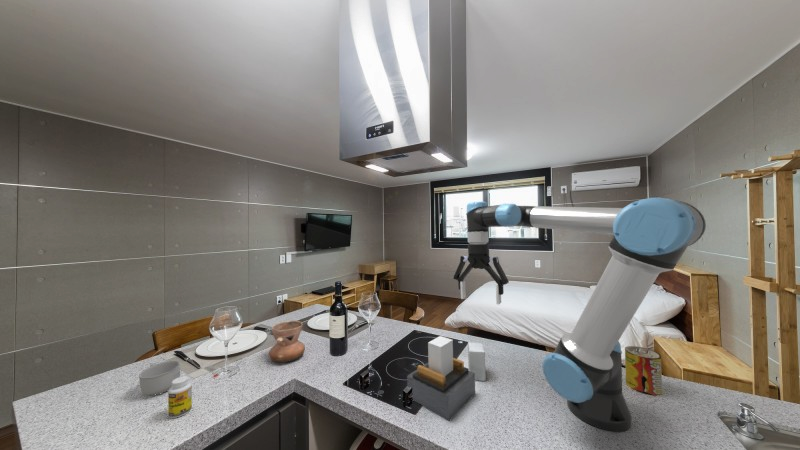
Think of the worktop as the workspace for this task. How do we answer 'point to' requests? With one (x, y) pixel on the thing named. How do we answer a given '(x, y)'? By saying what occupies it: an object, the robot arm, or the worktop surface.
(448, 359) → the block
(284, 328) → the ceramic jug
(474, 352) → the small box
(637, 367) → the beverage can
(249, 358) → the worktop surface
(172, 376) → the gray oval bowl
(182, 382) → the supplement bottle
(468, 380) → the grey fixture base
